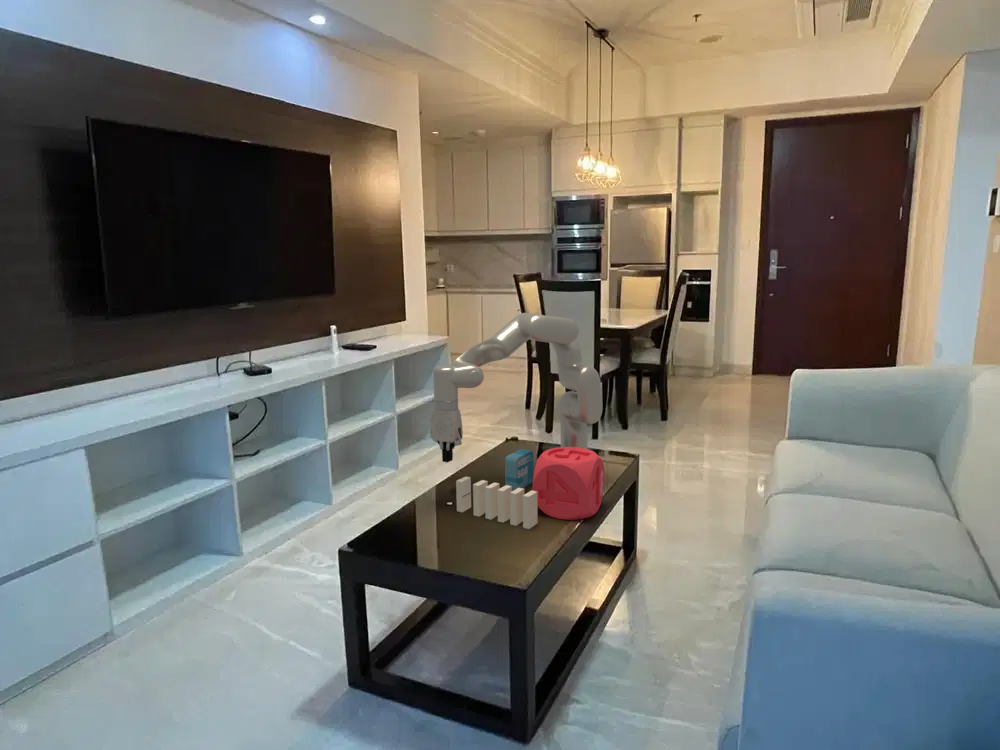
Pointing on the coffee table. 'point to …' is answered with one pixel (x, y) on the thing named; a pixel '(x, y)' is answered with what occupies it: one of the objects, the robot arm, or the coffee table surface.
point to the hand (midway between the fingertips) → (447, 460)
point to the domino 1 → (463, 494)
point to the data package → (519, 469)
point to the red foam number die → (569, 482)
